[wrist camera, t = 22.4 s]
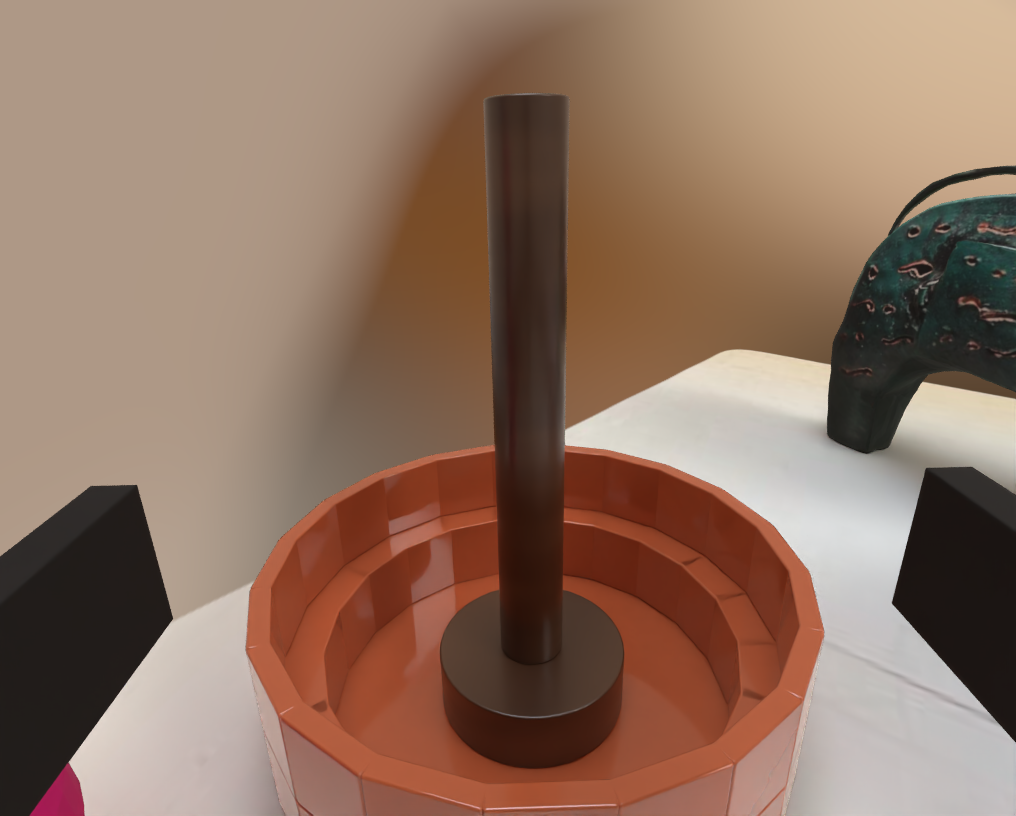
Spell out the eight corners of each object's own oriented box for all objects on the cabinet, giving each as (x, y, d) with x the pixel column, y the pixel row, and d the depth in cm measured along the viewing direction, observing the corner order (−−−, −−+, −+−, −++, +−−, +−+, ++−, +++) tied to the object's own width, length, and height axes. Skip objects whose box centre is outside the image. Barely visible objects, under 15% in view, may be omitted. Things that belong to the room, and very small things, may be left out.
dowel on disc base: (413, 741, 19) (344, 92, 13) (477, 615, 24) (453, 113, 18) (607, 792, 17) (645, 72, 11) (631, 644, 23) (666, 102, 16)
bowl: (153, 873, 16) (92, 700, 14) (414, 539, 31) (404, 427, 28) (832, 1127, 12) (898, 930, 10) (764, 594, 26) (785, 468, 24)
